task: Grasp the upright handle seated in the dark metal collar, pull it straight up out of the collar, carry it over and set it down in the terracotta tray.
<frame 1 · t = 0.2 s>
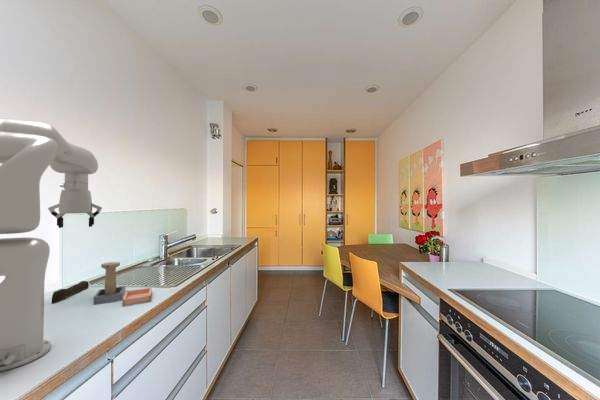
hand: (76, 227, 105), 31 cm above the counter, tool pointing down, fingers open, 9 cm apart
tray: (138, 299, 105), on the counter
collar: (110, 298, 106), on the counter
hand tool: (71, 296, 110), on the counter
handle: (110, 298, 106), resting in collar
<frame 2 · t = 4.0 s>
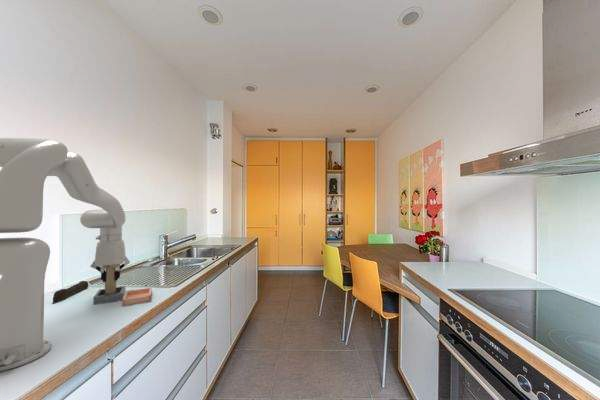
hand: (110, 280, 106), 8 cm above the counter, tool pointing down, fingers closed on handle, 3 cm apart
handle: (110, 298, 106), resting in collar, touching gripper
everything else where it was.
when the fingers open (10 cm above the counter, at t = 10.3 s): handle moves 1 cm, point 1 cm above the counter.
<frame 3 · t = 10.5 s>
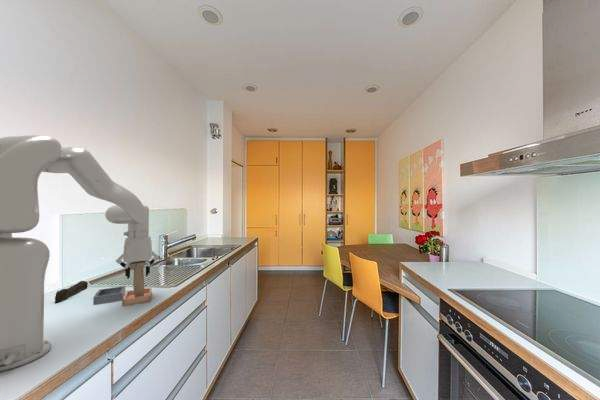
hand: (137, 276, 105), 10 cm above the counter, tool pointing down, fingers open, 5 cm apart
handle: (139, 297, 105), point 1 cm above the counter, touching gripper
everything else where it was.
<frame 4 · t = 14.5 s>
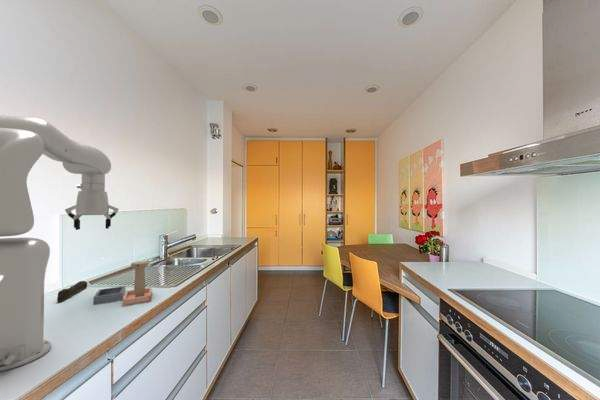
hand: (92, 228, 103), 30 cm above the counter, tool pointing down, fingers open, 9 cm apart
handle: (139, 298, 105), resting on tray
everything else where it was.
at the end: handle inside the target area on the tray (0.7 cm from its centre), point 0.4 cm above the tray's base; the gripper is holding nothing; handle touching tray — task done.
